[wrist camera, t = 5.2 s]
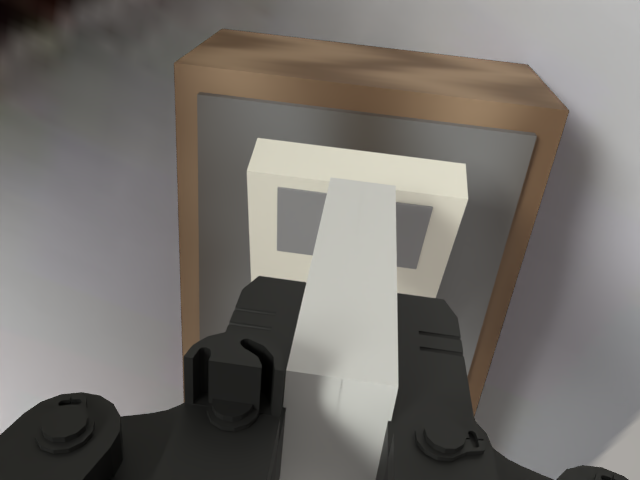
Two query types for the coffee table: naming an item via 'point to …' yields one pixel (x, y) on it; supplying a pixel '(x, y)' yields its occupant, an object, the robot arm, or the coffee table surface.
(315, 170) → the rocker
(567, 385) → the coffee table surface
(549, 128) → the wooden storage box
